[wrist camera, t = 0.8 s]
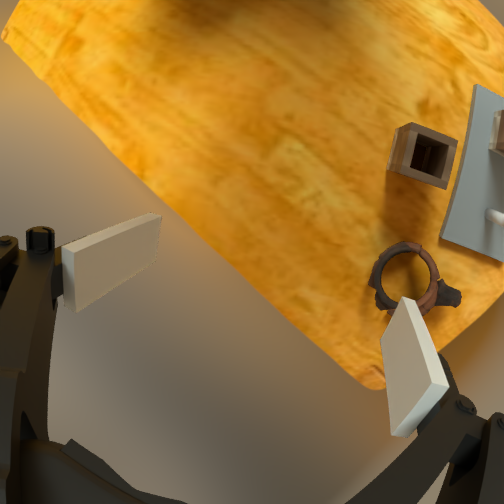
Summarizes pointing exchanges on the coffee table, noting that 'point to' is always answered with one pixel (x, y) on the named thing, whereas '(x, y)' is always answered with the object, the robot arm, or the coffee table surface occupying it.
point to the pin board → (478, 184)
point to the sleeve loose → (435, 158)
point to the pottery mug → (435, 293)
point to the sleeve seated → (497, 133)
